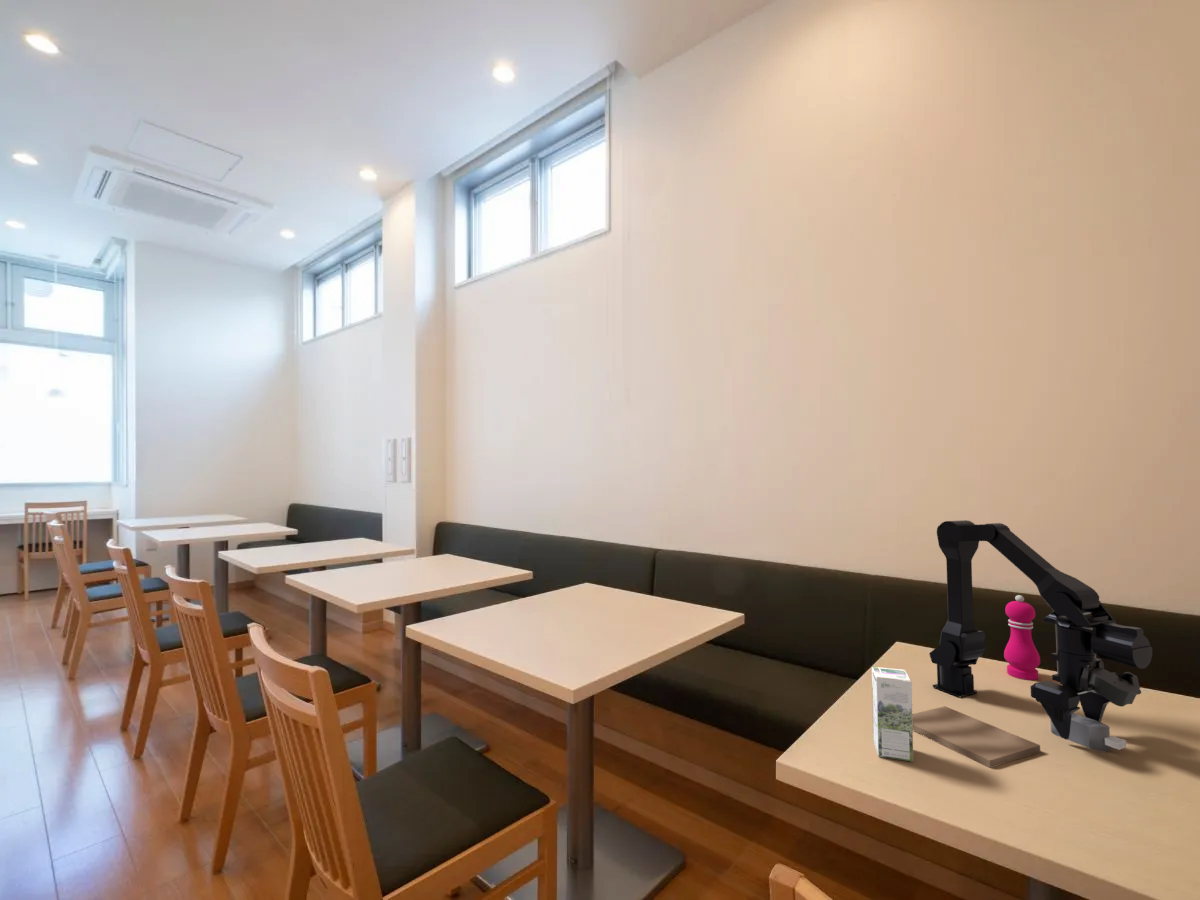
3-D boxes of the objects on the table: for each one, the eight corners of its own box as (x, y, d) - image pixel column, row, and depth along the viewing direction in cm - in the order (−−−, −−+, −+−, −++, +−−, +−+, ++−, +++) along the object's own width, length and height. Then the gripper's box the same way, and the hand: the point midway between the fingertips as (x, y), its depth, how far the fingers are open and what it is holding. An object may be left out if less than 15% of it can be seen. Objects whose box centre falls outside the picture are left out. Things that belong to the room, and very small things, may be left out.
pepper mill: (1028, 670, 139) (1025, 592, 140) (1048, 681, 132) (1045, 598, 133) (998, 669, 140) (995, 591, 141) (1016, 680, 133) (1013, 598, 134)
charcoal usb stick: (1046, 731, 106) (1045, 710, 107) (1058, 728, 108) (1057, 707, 108) (1116, 758, 96) (1115, 735, 96) (1129, 754, 98) (1128, 731, 98)
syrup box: (907, 747, 100) (904, 668, 101) (914, 763, 95) (911, 679, 96) (873, 742, 102) (871, 664, 103) (878, 758, 97) (875, 675, 97)
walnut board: (897, 723, 110) (897, 717, 110) (945, 711, 115) (945, 706, 115) (989, 767, 93) (989, 760, 93) (1040, 751, 99) (1040, 745, 99)
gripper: (1098, 671, 93) (1103, 765, 92) (1157, 657, 100) (1162, 744, 99) (1027, 652, 103) (1030, 735, 103) (1085, 640, 110) (1088, 719, 109)
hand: (1079, 734), depth 103 cm, fingers open, 9 cm apart
